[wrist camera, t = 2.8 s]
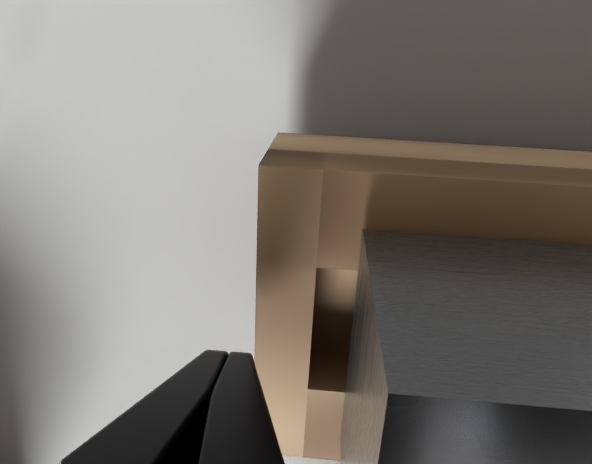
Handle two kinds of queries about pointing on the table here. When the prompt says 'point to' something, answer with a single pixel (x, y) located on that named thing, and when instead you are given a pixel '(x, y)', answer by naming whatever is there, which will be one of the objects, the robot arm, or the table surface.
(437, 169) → the light wood rectangular frame
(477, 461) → the grey block
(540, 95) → the table surface
